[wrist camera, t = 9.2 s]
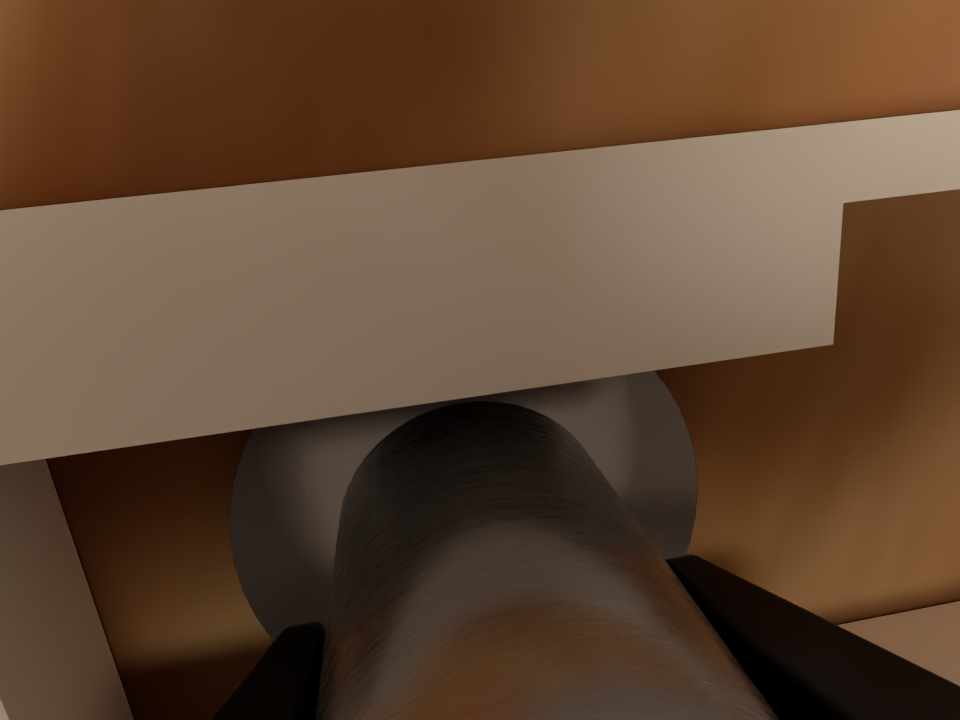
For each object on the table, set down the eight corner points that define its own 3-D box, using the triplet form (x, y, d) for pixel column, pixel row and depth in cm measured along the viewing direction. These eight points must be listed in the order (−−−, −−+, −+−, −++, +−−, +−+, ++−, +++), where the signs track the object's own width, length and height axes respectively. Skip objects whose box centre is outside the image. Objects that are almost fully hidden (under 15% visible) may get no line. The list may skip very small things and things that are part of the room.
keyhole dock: (1272, 76, 11) (1514, 51, 8) (1137, 603, 14) (1285, 688, 12) (-120, 223, 8) (-309, 243, 6) (104, 813, 12) (35, 971, 9)
